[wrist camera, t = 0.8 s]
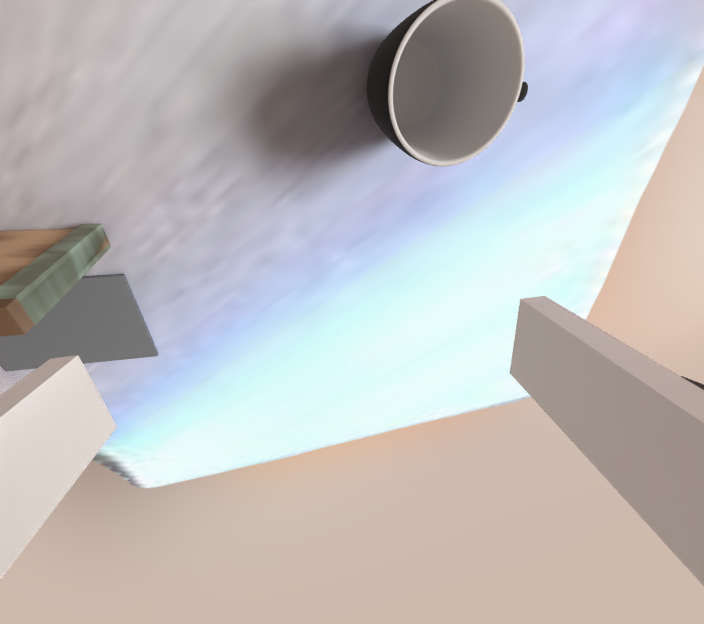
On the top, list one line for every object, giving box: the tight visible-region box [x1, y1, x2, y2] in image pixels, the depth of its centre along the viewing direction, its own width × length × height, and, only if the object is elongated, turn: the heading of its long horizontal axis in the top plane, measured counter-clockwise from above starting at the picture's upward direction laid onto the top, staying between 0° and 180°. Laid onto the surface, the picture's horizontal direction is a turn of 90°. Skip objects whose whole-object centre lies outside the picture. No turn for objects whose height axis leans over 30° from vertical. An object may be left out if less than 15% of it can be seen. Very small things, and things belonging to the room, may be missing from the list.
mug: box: [367, 0, 528, 166], centre depth 24 cm, size 12×9×10 cm
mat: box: [0, 274, 158, 371], centre depth 34 cm, size 11×16×1 cm
